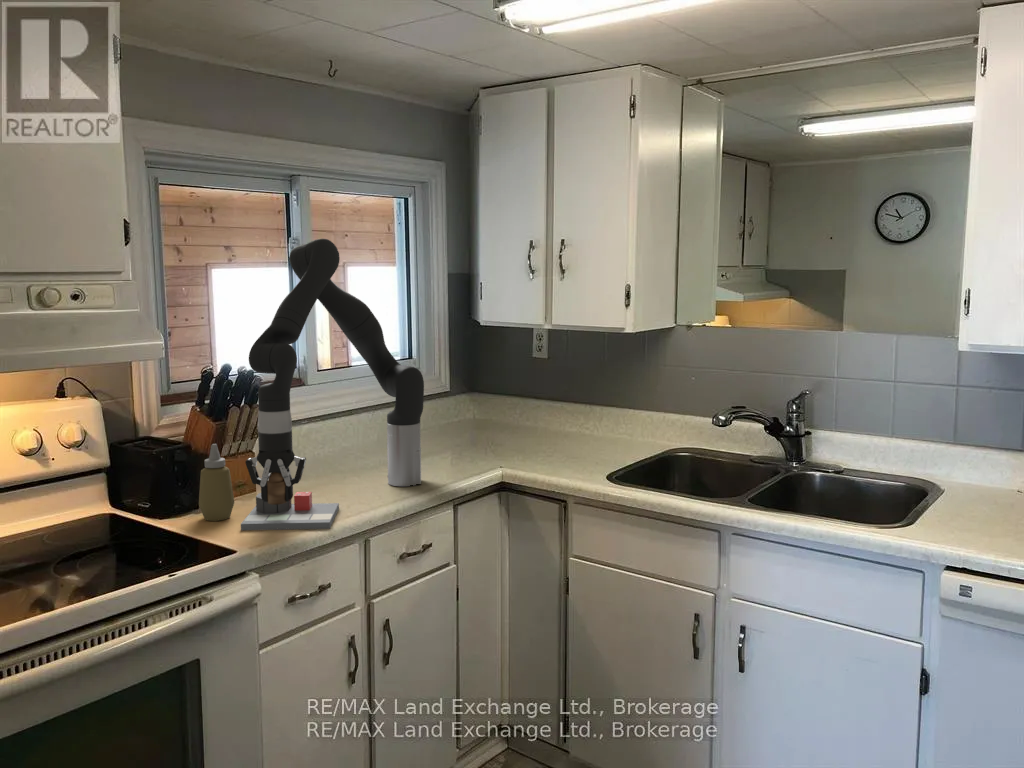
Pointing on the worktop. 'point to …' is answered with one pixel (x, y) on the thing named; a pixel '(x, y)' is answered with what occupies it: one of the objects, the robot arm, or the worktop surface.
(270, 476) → the cylinder
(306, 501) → the red die
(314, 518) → the board
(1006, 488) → the worktop surface
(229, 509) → the squeeze bottle
